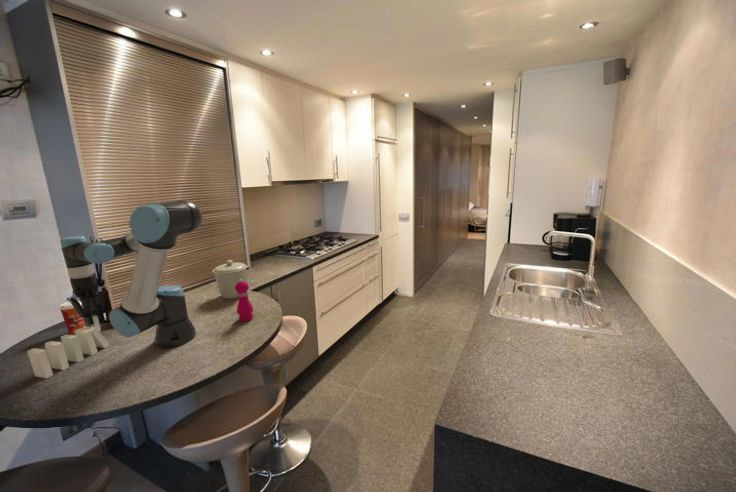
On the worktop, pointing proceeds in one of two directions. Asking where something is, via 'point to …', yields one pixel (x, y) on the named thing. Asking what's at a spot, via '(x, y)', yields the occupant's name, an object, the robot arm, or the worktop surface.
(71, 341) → the domino
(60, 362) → the domino
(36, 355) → the domino
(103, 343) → the domino
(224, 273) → the canister
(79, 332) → the domino
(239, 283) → the pepper mill
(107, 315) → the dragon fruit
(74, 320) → the paper cup
